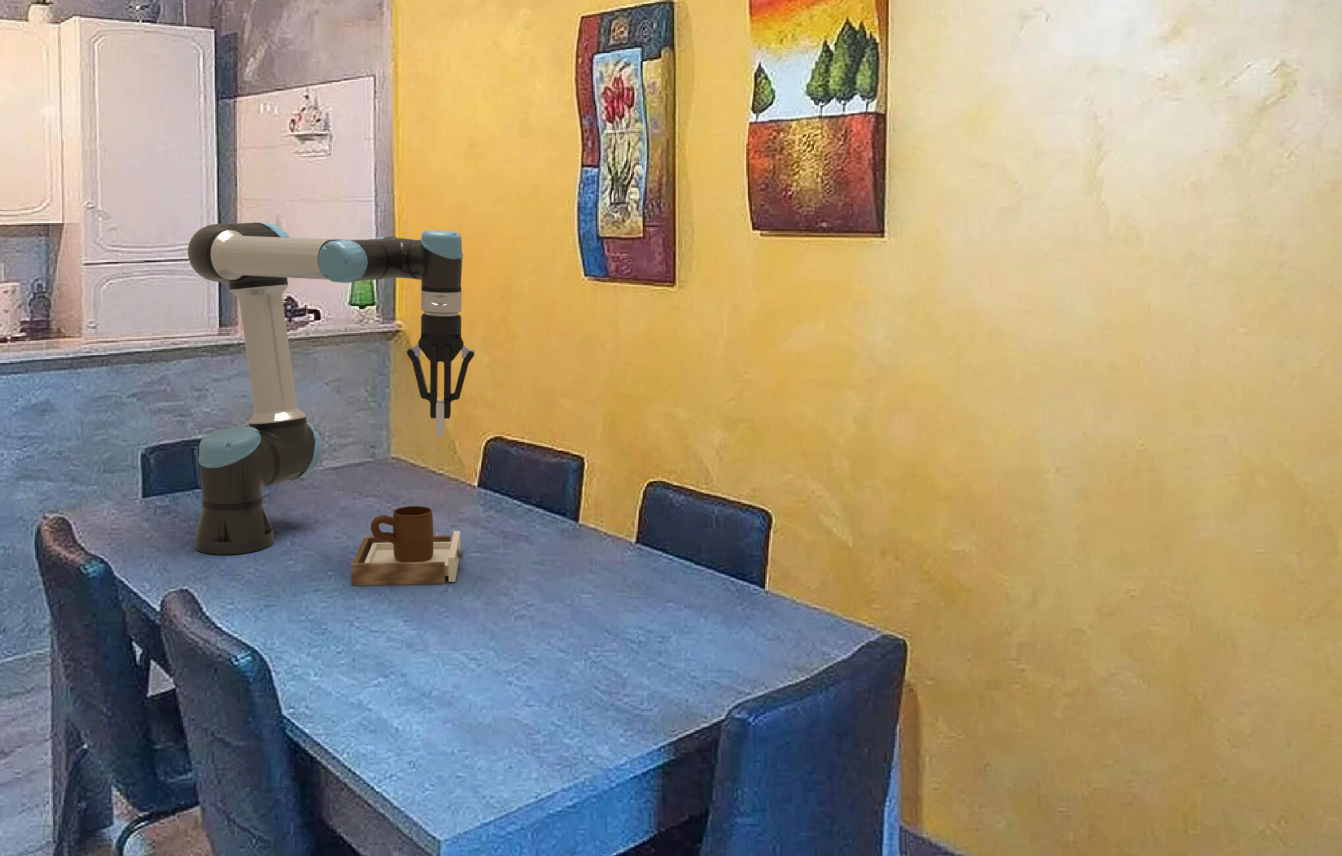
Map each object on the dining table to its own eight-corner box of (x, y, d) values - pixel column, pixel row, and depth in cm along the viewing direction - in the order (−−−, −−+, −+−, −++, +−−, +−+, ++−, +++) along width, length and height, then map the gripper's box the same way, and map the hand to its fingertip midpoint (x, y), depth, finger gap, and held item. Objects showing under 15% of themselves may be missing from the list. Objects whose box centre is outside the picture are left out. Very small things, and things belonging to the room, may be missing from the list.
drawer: (362, 583, 222) (361, 558, 221) (374, 554, 239) (373, 531, 238) (460, 581, 224) (460, 557, 223) (465, 553, 241) (465, 530, 240)
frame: (351, 585, 222) (351, 564, 221) (365, 555, 239) (364, 536, 239) (444, 583, 224) (444, 563, 223) (450, 554, 241) (450, 535, 241)
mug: (377, 568, 226) (376, 520, 224) (366, 557, 232) (364, 510, 230) (439, 560, 231) (438, 513, 230) (426, 549, 238) (425, 503, 236)
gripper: (404, 314, 223) (404, 438, 228) (475, 317, 224) (473, 439, 229) (408, 309, 230) (407, 429, 235) (476, 312, 232) (475, 431, 237)
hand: (440, 434), depth 232 cm, fingers closed
